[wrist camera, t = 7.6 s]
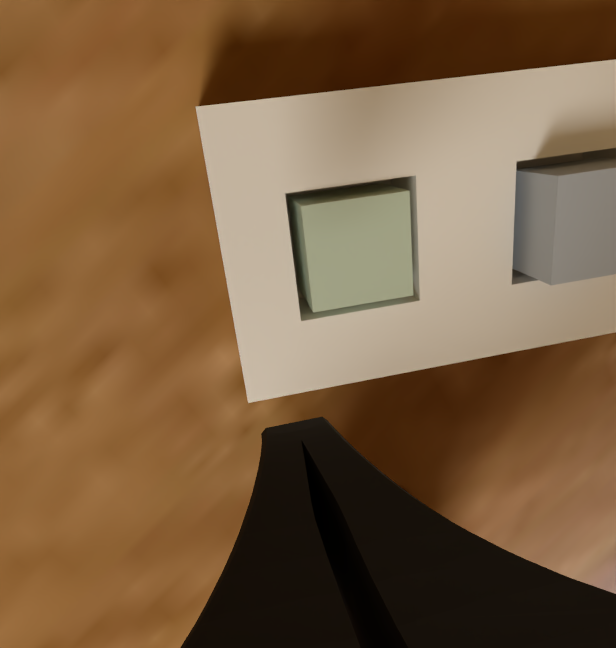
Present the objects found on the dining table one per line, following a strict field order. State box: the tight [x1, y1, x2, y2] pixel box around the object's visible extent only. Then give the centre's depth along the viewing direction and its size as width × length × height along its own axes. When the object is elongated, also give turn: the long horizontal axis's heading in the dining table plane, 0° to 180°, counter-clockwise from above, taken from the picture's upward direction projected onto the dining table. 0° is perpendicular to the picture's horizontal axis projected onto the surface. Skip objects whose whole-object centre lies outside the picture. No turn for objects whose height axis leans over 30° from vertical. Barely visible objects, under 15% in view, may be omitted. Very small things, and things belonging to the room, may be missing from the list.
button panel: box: [196, 59, 616, 403], centre depth 20 cm, size 10×25×3 cm, turn 96°
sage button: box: [288, 183, 413, 313], centre depth 18 cm, size 4×4×3 cm
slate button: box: [512, 157, 616, 285], centre depth 18 cm, size 4×4×3 cm
